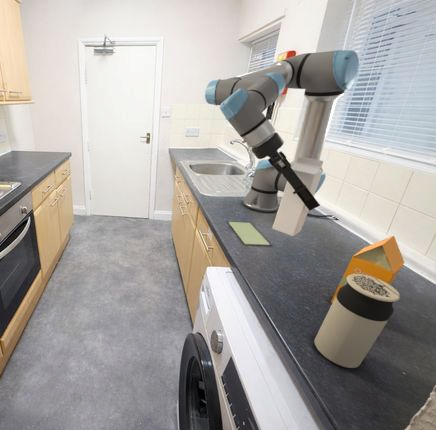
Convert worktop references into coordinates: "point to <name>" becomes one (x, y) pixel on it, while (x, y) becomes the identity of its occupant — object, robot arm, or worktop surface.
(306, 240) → the worktop surface
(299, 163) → the milk
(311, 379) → the worktop surface
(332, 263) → the worktop surface
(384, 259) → the orange juice
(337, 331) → the travel mug
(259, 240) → the sage mat
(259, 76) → the robot arm
